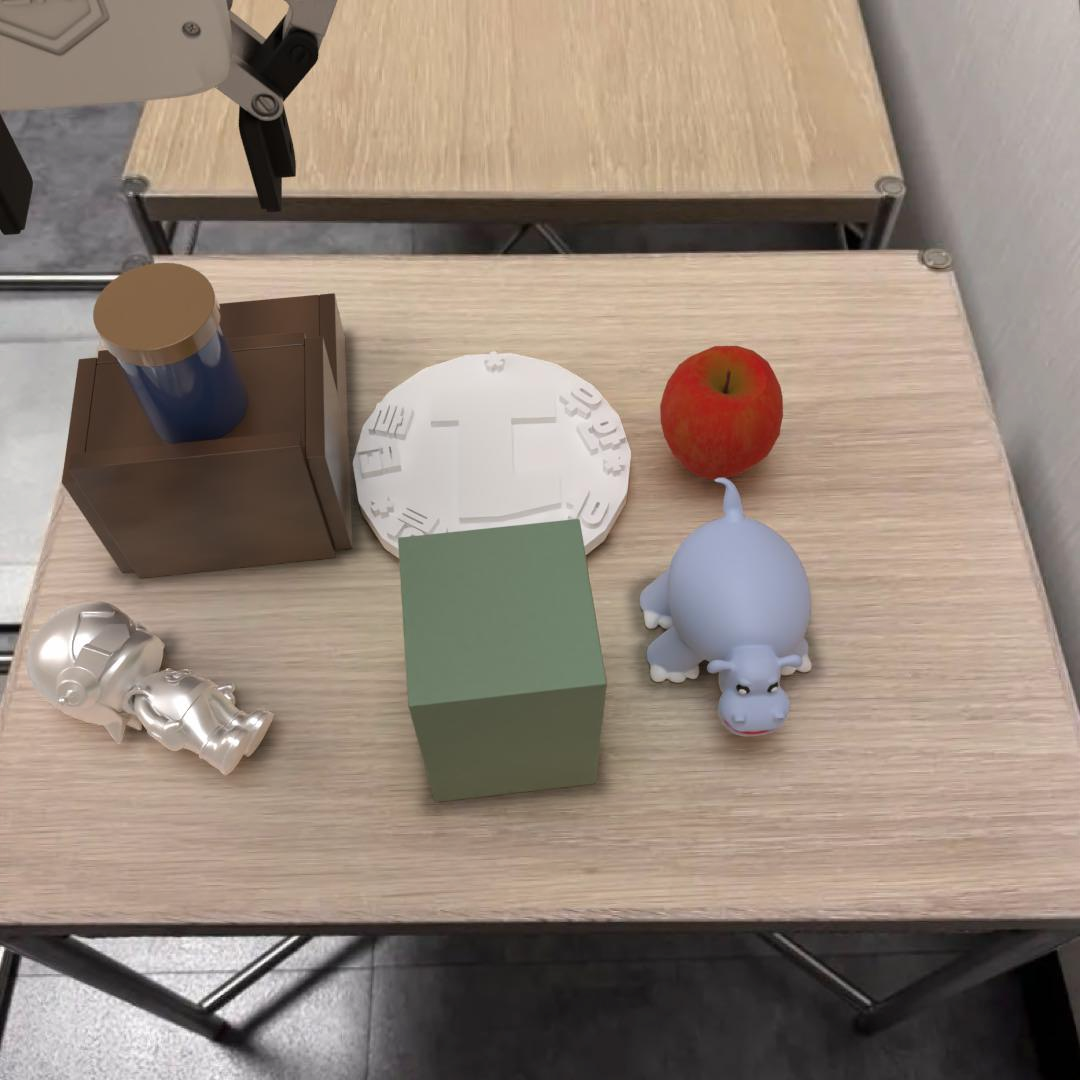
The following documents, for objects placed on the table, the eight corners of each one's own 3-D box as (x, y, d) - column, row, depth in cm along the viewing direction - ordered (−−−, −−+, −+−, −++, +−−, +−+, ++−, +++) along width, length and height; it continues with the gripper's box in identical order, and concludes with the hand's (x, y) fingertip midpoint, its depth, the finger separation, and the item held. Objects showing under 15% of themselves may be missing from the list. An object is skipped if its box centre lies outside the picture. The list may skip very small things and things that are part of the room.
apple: (681, 404, 82) (698, 303, 73) (785, 445, 80) (816, 346, 71) (633, 485, 78) (644, 389, 69) (741, 531, 76) (768, 438, 67)
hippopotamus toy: (660, 763, 67) (676, 703, 59) (632, 558, 75) (643, 480, 67) (830, 751, 67) (869, 690, 59) (785, 548, 75) (814, 470, 67)
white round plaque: (658, 407, 82) (662, 382, 80) (586, 626, 72) (588, 605, 70) (414, 348, 85) (410, 322, 83) (314, 550, 75) (306, 528, 73)
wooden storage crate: (121, 580, 74) (47, 471, 63) (142, 356, 85) (82, 230, 74) (352, 556, 75) (319, 444, 64) (345, 337, 86) (315, 210, 75)
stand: (434, 803, 66) (408, 706, 53) (424, 656, 71) (397, 537, 58) (595, 783, 66) (607, 683, 54) (573, 639, 72) (579, 518, 59)
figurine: (225, 739, 60) (3, 605, 61) (179, 840, 62) (-35, 708, 63) (306, 674, 70) (114, 560, 71) (264, 763, 72) (78, 650, 73)
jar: (139, 453, 66) (86, 355, 59) (147, 370, 70) (98, 267, 62) (250, 442, 67) (212, 344, 59) (252, 360, 70) (216, 257, 63)
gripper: (-488, -257, 24) (-101, 289, 39) (278, -301, 25) (375, 247, 40) (-379, -386, 28) (-65, 154, 43) (280, -420, 29) (368, 119, 44)
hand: (147, 198), depth 41 cm, fingers open, 9 cm apart
